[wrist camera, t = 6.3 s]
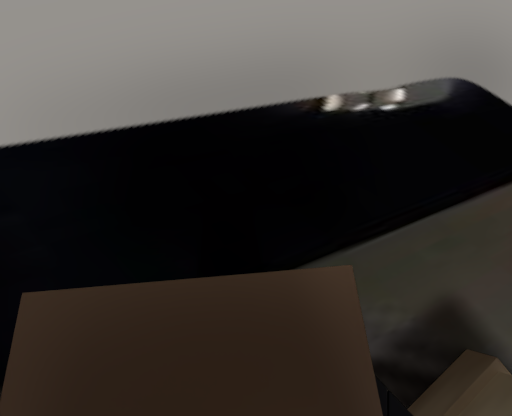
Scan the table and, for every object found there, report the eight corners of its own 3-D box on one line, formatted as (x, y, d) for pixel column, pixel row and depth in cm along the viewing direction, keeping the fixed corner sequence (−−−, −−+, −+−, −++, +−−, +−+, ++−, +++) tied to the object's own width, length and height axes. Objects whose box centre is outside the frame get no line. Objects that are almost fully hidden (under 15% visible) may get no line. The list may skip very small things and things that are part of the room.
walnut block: (279, 373, 14) (459, 787, 2) (190, 384, 13) (-114, 946, 2) (269, 282, 15) (351, 264, 4) (190, 289, 15) (22, 292, 4)
